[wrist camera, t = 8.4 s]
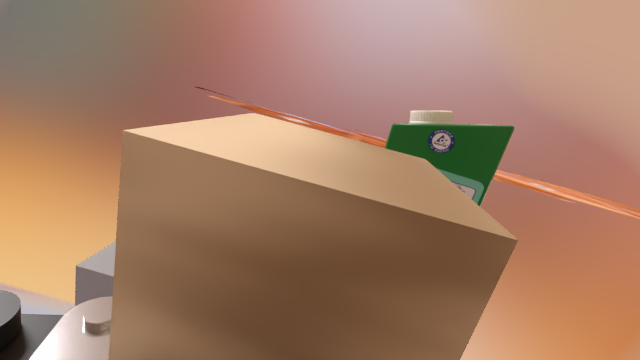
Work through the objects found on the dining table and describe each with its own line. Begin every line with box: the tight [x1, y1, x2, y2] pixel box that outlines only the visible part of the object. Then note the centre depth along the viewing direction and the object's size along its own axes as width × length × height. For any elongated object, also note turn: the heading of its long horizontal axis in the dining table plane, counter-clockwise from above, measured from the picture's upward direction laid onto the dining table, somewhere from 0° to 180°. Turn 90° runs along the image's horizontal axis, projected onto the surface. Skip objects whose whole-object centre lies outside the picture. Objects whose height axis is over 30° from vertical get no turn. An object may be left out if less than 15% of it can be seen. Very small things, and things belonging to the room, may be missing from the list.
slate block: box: [75, 242, 116, 306], centre depth 21 cm, size 5×5×11 cm
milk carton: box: [385, 111, 514, 206], centre depth 32 cm, size 9×9×25 cm
